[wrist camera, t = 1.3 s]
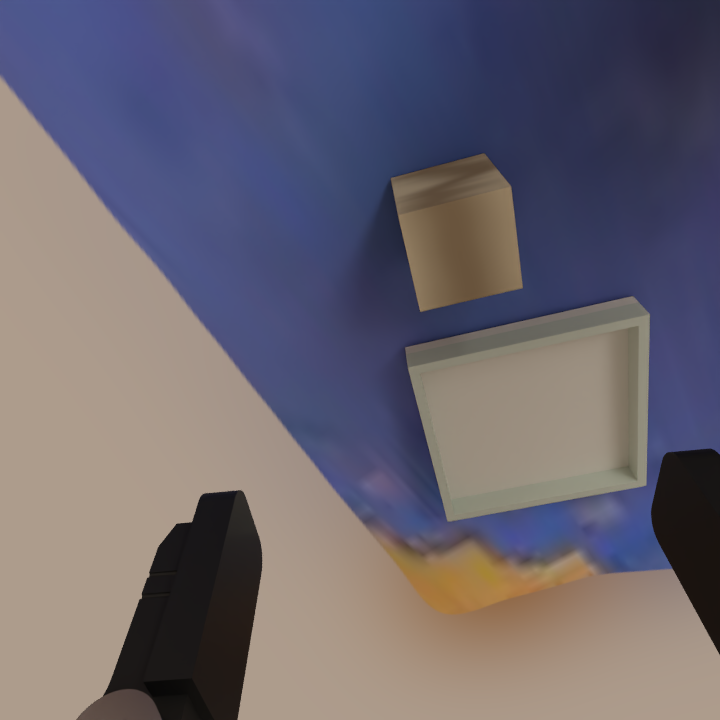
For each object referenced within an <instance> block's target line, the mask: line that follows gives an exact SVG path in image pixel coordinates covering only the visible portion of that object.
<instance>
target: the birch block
mask: <svg viewBox="0 0 720 720" xmlns="http://www.w3.org/2000/svg"><path fill="white" fill-rule="evenodd" d="M391 182H392V187H393V192H394V197H395V202H396V207H397V212H398V217H399V222H400V226H401V230H402V235H403V239H404V243H405V248H406V252H407V256H408V261H409V265H410V269H411V274H412V278H413V282H414V287H415V291H416V296H417V300H418V304H419V309H420V312H422V311H426V310H430V309H435V308H439V307H443V306H447V305H452V304H456V303H460V302H465V301H469V300H473V299H478V298H482V297H486V296H490V295H495V294H499V293H503V292H508V291H512V290H516V289H521V288H523V285H522V277H521V268H520V259H519V250H518V242H517V233H516V224H515V216H514V207H513V198H512V189H511V186H510V184H509V183H508V182H507V181H506V179H505V178H504V177H503V176H502V174H501V173H500V172H499V171H498V170H497V168H496V167H495V166H494V165H493V163H492V162H491V161H490V160H489V158H488V157H487V156H486V155H485V154H484V153H483V154H480V155H476V156H472V157H468V158H464V159H461V160H457V161H453V162H449V163H446V164H442V165H438V166H434V167H431V168H427V169H423V170H419V171H415V172H412V173H408V174H404V175H400V176H397V177H393V178H391Z"/></svg>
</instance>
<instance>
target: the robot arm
mask: <svg viewBox="0 0 720 720" xmlns="http://www.w3.org/2000/svg"><path fill="white" fill-rule="evenodd" d="M651 518H652V525H653V529H654V532H655V535H656V538H657V540H658V542H659V544H660V546H661V548H662V550H663V552H664V553H665V555H666V557H667V559H668V561H669V563H670V564H671V566H672V568H673V570H674V571H675V574H676V575H677V577H678V579H679V581H680V583H681V585H682V586H683V588H684V590H685V592H686V594H687V596H688V597H689V599H690V601H691V603H692V605H693V607H694V608H695V610H696V612H697V614H698V616H699V617H700V619H701V621H702V623H703V625H704V627H705V629H706V630H707V632H708V634H709V636H710V638H711V640H712V641H713V643H714V645H715V647H716V649H717V651H718V652H719V654H720V455H719V454H718V453H717V452H716V451H715V450H713V449H700V450H689V451H678V452H668V453H666V454H665V455H664V457H663V460H662V464H661V468H660V473H659V477H658V482H657V486H656V490H655V495H654V499H653V503H652V509H651ZM261 571H262V549H261V544H260V539H259V536H258V533H257V530H256V527H255V524H254V521H253V518H252V515H251V512H250V509H249V506H248V503H247V500H246V497H245V495H244V493H243V492H242V491H241V490H238V491H228V492H217V493H206V494H203V495H202V496H201V497H200V499H199V502H198V505H197V508H196V512H195V515H194V518H193V521H192V522H191V523H180V524H176V525H175V527H174V528H173V529H172V530H171V532H170V533H169V534H168V535H167V537H166V538H165V539H164V541H163V542H162V543H161V544H160V545H159V547H158V549H157V553H156V555H155V558H154V561H153V564H152V566H151V569H150V572H149V573H150V576H149V578H147V580H146V583H145V586H144V589H143V592H142V599H140V600H139V603H138V606H137V608H136V611H135V614H134V617H133V620H132V622H131V626H130V628H129V631H128V634H127V636H126V639H125V642H124V645H123V648H122V650H121V653H120V656H119V659H118V662H117V664H116V668H115V670H114V674H113V676H112V678H111V681H110V683H109V686H108V688H107V690H106V692H105V694H104V695H103V697H101V698H100V699H98V700H97V701H95V702H94V703H93V704H91V705H90V706H89V707H88V708H87V709H86V710H85V711H83V713H81V715H80V716H79V717H78V718H77V720H237V718H238V712H239V707H240V700H241V694H242V688H243V682H244V676H245V670H246V664H247V657H248V651H249V645H250V639H251V633H252V627H253V621H254V615H255V609H256V603H257V596H258V590H259V584H260V579H261Z"/></svg>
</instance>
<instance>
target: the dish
mask: <svg viewBox="0 0 720 720" xmlns="http://www.w3.org/2000/svg"><path fill="white" fill-rule="evenodd" d="M649 330H650V314H649V313H648V312H647V311H646V310H645V309H644V307H643V306H642V305H641V304H640V303H639V302H638V301H637V300H636V299H635V298H634V297H633V296H631V297H627V298H622V299H618V300H613V301H609V302H604V303H600V304H595V305H591V306H587V307H582V308H578V309H573V310H569V311H564V312H560V313H556V314H551V315H547V316H542V317H538V318H533V319H529V320H524V321H520V322H516V323H511V324H507V325H502V326H498V327H493V328H489V329H485V330H480V331H476V332H471V333H467V334H462V335H458V336H453V337H449V338H445V339H440V340H436V341H431V342H427V343H422V344H418V345H414V346H409V347H405V352H406V359H407V365H408V370H409V374H410V378H411V382H412V386H413V390H414V393H415V397H416V401H417V405H418V409H419V413H420V417H421V420H422V424H423V428H424V432H425V436H426V440H427V444H428V447H429V451H430V455H431V459H432V463H433V467H434V470H435V474H436V478H437V482H438V486H439V490H440V494H441V497H442V501H443V505H444V509H445V513H446V517H447V521H448V522H450V521H455V520H461V519H466V518H472V517H477V516H483V515H488V514H494V513H499V512H505V511H510V510H516V509H521V508H527V507H532V506H537V505H543V504H548V503H554V502H559V501H565V500H570V499H576V498H581V497H587V496H592V495H598V494H603V493H609V492H614V491H620V490H625V489H631V488H636V487H642V486H646V474H647V426H648V378H649Z"/></svg>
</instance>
